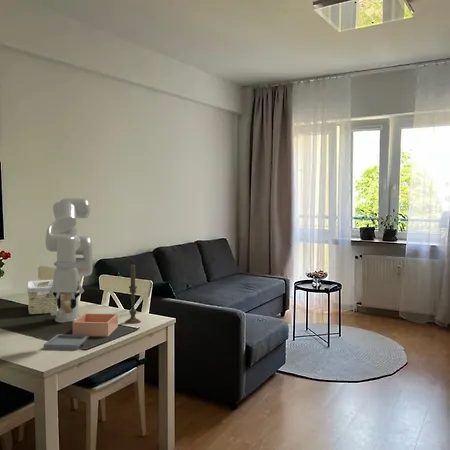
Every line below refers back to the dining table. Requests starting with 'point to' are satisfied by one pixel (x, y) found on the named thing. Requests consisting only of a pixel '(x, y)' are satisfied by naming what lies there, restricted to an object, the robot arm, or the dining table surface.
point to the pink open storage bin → (95, 324)
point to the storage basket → (41, 297)
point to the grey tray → (66, 342)
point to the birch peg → (66, 302)
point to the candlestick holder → (132, 298)
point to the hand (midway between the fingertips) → (66, 307)
